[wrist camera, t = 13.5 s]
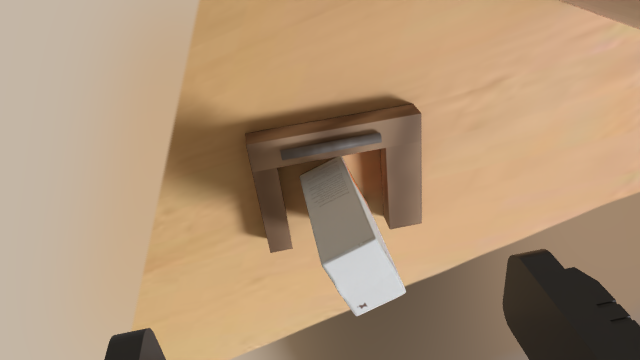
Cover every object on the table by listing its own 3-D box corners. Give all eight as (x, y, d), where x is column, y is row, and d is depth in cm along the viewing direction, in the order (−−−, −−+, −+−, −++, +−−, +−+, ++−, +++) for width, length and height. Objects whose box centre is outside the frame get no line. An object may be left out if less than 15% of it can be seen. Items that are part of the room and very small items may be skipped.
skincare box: (368, 201, 44) (409, 294, 34) (326, 222, 45) (355, 319, 35) (341, 151, 41) (377, 237, 31) (296, 174, 42) (318, 266, 31)
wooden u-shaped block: (413, 103, 40) (424, 117, 37) (414, 210, 46) (424, 228, 43) (245, 133, 39) (246, 149, 36) (268, 239, 45) (271, 258, 42)
